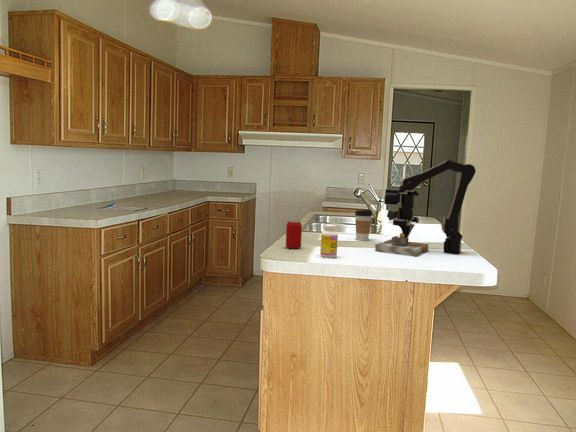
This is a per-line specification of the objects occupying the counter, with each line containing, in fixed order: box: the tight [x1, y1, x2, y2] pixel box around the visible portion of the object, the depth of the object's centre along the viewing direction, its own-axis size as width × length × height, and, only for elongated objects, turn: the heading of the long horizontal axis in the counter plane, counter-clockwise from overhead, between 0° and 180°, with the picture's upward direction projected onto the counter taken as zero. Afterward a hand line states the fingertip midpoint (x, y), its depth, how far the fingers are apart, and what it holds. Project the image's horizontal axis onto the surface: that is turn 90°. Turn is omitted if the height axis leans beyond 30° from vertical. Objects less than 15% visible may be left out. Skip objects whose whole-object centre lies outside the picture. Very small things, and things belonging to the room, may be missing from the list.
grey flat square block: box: [374, 235, 429, 257], centre depth 217 cm, size 18×18×6 cm
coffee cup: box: [354, 209, 373, 242], centre depth 244 cm, size 8×8×15 cm
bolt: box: [397, 232, 406, 238], centre depth 216 cm, size 3×7×5 cm, turn 148°
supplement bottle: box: [319, 223, 339, 259], centre depth 198 cm, size 7×7×13 cm
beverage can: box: [285, 219, 303, 250], centre depth 215 cm, size 7×7×12 cm
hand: (405, 239), depth 220 cm, fingers closed
